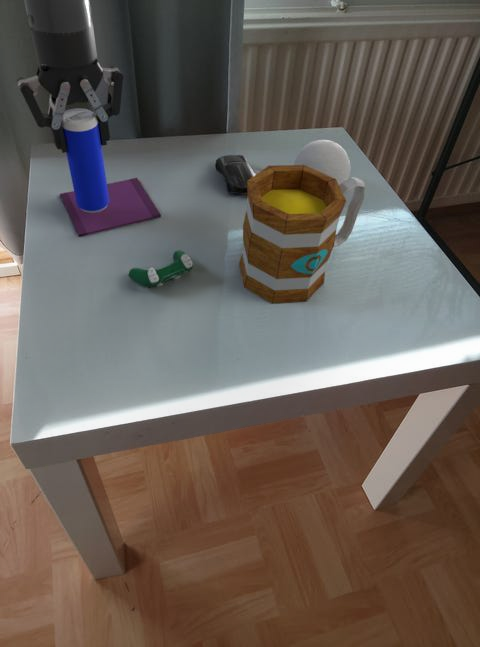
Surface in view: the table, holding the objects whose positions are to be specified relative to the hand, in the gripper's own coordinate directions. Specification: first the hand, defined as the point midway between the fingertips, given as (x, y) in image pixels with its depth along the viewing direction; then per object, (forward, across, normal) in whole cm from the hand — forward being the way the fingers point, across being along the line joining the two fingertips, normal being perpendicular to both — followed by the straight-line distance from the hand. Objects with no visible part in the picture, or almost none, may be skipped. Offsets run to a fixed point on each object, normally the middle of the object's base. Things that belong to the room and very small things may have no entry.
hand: (83, 145), depth 74 cm
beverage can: (+11, 0, 0) cm, 11 cm away
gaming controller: (+13, -5, +18) cm, 23 cm away
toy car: (+13, -27, -1) cm, 30 cm away
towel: (+13, -3, -2) cm, 13 cm away
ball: (+13, -39, +8) cm, 42 cm away
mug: (+13, -25, +24) cm, 37 cm away
